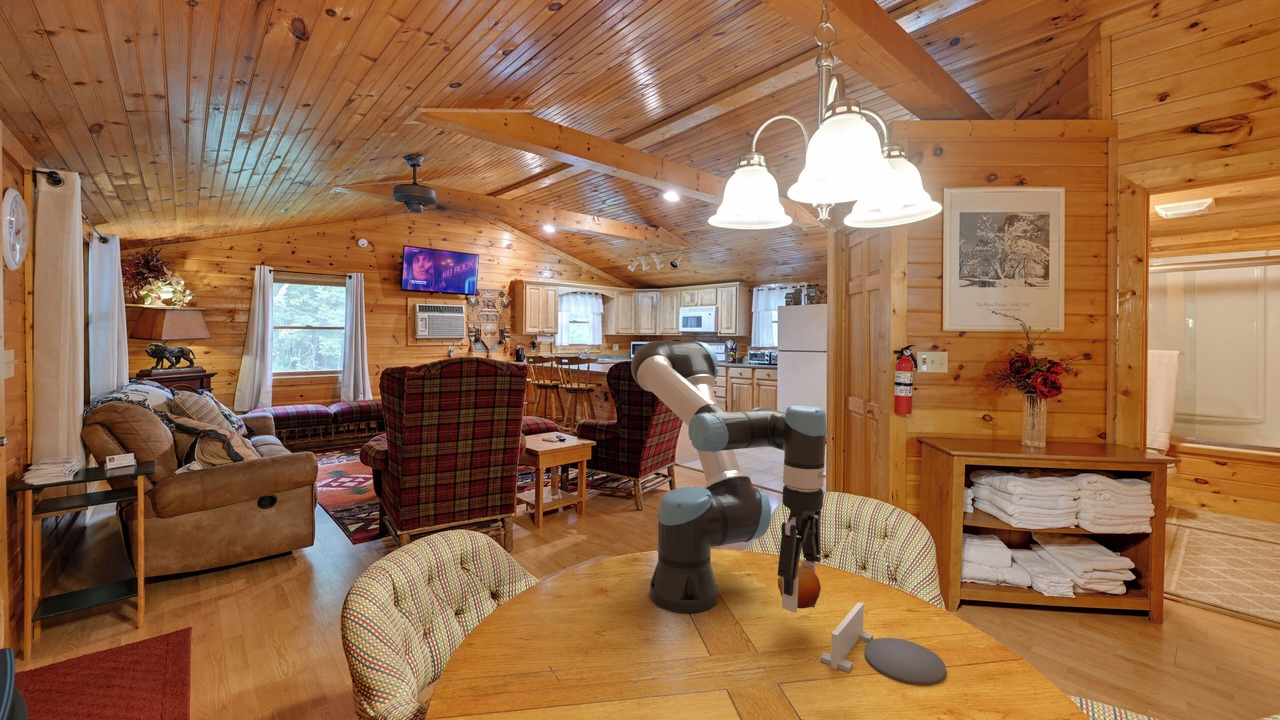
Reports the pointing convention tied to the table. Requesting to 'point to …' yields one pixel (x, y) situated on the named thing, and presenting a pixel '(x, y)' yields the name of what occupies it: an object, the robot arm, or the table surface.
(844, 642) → the wall
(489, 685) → the table surface
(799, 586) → the fruit
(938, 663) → the mat
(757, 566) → the table surface
